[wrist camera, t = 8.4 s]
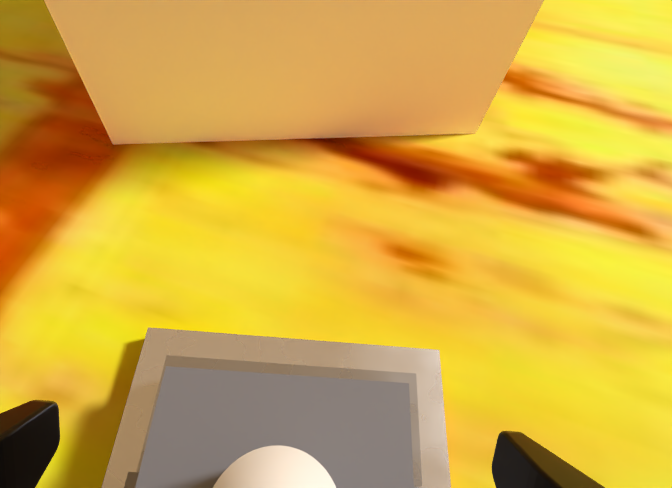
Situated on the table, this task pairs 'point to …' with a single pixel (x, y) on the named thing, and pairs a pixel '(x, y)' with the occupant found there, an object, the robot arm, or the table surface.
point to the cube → (290, 65)
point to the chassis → (288, 360)
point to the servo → (276, 432)
